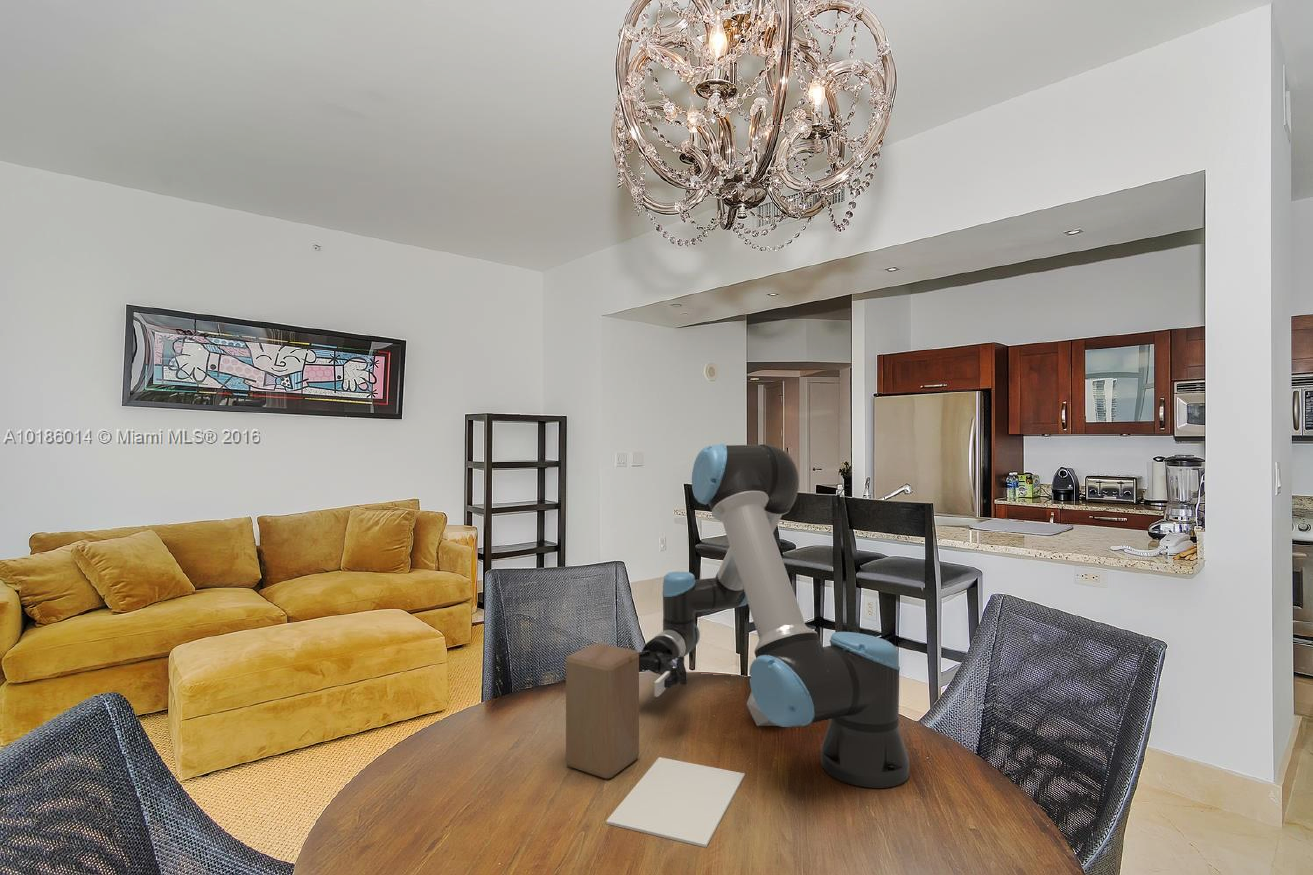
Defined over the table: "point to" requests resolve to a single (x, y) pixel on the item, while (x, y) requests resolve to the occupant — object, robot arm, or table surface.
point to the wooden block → (602, 709)
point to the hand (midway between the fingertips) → (623, 684)
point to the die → (758, 713)
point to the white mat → (678, 801)
